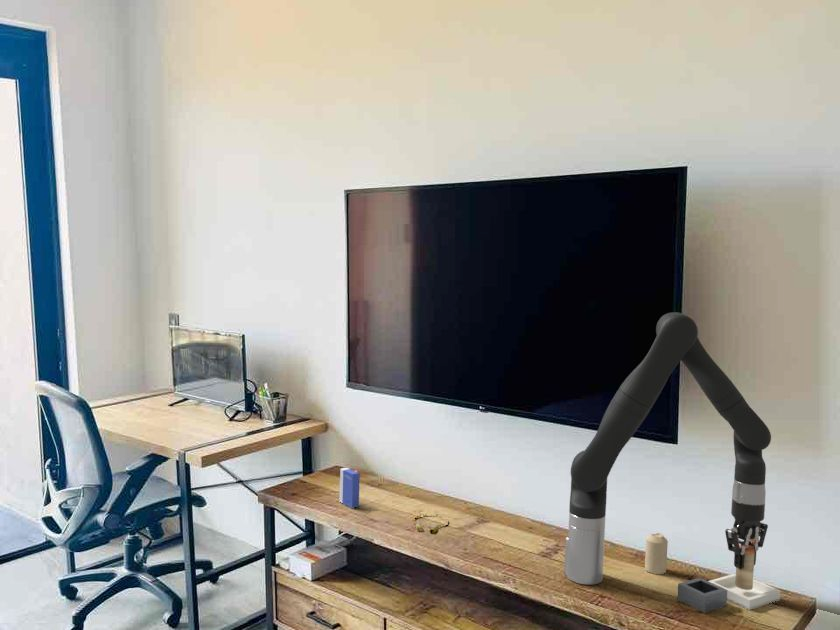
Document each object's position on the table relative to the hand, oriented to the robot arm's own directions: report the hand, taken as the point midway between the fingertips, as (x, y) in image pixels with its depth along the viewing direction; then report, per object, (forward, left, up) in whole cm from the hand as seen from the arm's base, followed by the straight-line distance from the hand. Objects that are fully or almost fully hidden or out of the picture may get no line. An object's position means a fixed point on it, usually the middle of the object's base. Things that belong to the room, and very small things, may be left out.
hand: (744, 565), depth 182 cm
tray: (0, 0, -8) cm, 8 cm away
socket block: (-2, -13, -8) cm, 15 cm away
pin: (0, 0, -5) cm, 5 cm away
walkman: (-106, -60, -8) cm, 122 cm away
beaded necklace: (-79, -45, -8) cm, 91 cm away
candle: (-21, -8, -8) cm, 24 cm away
